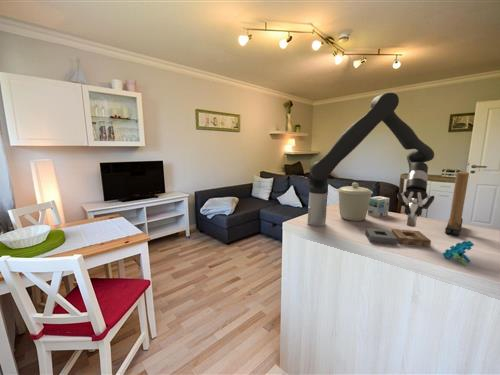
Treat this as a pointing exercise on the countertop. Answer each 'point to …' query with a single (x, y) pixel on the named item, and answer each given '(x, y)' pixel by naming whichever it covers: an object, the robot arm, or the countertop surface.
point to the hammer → (457, 203)
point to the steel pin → (412, 213)
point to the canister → (354, 202)
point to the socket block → (380, 236)
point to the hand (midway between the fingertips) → (412, 214)
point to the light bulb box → (378, 206)
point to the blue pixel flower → (459, 251)
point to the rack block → (411, 238)
